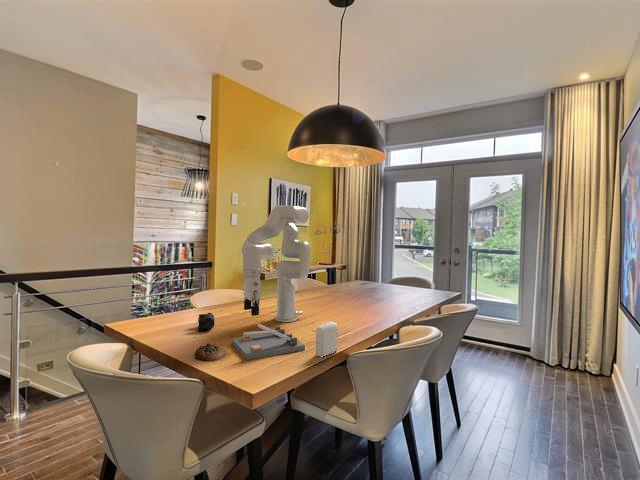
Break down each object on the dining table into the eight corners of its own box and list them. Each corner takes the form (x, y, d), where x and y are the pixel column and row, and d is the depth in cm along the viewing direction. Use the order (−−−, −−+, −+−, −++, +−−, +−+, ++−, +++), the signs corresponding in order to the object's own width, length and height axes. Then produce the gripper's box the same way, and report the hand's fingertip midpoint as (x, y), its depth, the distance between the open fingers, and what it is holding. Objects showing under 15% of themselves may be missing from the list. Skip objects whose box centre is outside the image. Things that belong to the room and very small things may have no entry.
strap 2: (290, 341, 138) (292, 337, 138) (293, 343, 135) (295, 339, 135) (256, 326, 130) (258, 322, 130) (259, 328, 127) (261, 324, 128)
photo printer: (322, 358, 126) (323, 326, 126) (313, 355, 129) (314, 323, 129) (338, 351, 134) (339, 321, 134) (330, 349, 137) (331, 318, 137)
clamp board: (284, 335, 152) (284, 324, 152) (304, 350, 135) (305, 337, 135) (231, 343, 140) (231, 331, 140) (246, 360, 123) (247, 346, 122)
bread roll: (187, 356, 124) (190, 342, 125) (212, 352, 134) (214, 339, 134) (206, 365, 118) (209, 350, 118) (230, 360, 127) (233, 346, 128)
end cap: (214, 331, 155) (214, 317, 155) (198, 332, 153) (198, 317, 153) (214, 325, 165) (214, 311, 164) (198, 326, 163) (199, 312, 162)
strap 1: (280, 332, 148) (280, 328, 148) (282, 334, 146) (283, 330, 146) (242, 335, 140) (243, 331, 140) (245, 337, 137) (245, 333, 137)
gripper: (267, 275, 138) (266, 316, 139) (253, 269, 153) (253, 306, 154) (249, 276, 134) (249, 318, 135) (237, 270, 149) (236, 308, 150)
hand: (251, 312), depth 145 cm, fingers open, 9 cm apart
